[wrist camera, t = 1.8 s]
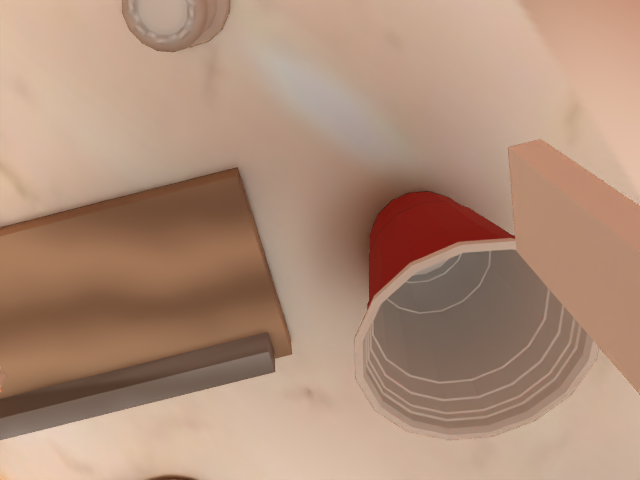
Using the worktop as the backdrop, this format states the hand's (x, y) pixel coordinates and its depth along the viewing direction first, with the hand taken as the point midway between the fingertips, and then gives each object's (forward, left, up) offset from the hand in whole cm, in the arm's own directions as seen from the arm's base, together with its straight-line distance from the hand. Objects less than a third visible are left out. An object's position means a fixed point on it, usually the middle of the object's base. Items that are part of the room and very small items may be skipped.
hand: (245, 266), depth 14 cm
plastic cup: (-11, -7, -20) cm, 23 cm away
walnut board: (-10, +14, -20) cm, 26 cm away
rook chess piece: (+5, +2, -20) cm, 21 cm away
